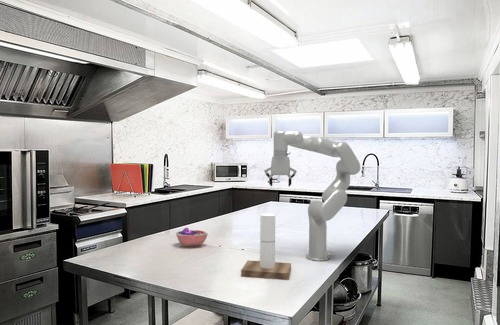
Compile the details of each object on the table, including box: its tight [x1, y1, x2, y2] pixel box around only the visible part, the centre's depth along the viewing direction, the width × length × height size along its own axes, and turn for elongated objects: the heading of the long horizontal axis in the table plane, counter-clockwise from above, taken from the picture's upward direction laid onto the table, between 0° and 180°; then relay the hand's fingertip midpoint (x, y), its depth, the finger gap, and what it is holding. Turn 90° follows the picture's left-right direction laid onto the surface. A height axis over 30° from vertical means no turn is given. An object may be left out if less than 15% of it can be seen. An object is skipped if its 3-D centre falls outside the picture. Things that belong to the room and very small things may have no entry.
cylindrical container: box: [259, 213, 276, 269], centre depth 171 cm, size 7×7×25 cm
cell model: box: [175, 227, 209, 247], centre depth 221 cm, size 17×20×11 cm
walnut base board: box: [240, 260, 292, 281], centre depth 171 cm, size 22×16×3 cm
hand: (280, 186), depth 190 cm, fingers open, 9 cm apart
